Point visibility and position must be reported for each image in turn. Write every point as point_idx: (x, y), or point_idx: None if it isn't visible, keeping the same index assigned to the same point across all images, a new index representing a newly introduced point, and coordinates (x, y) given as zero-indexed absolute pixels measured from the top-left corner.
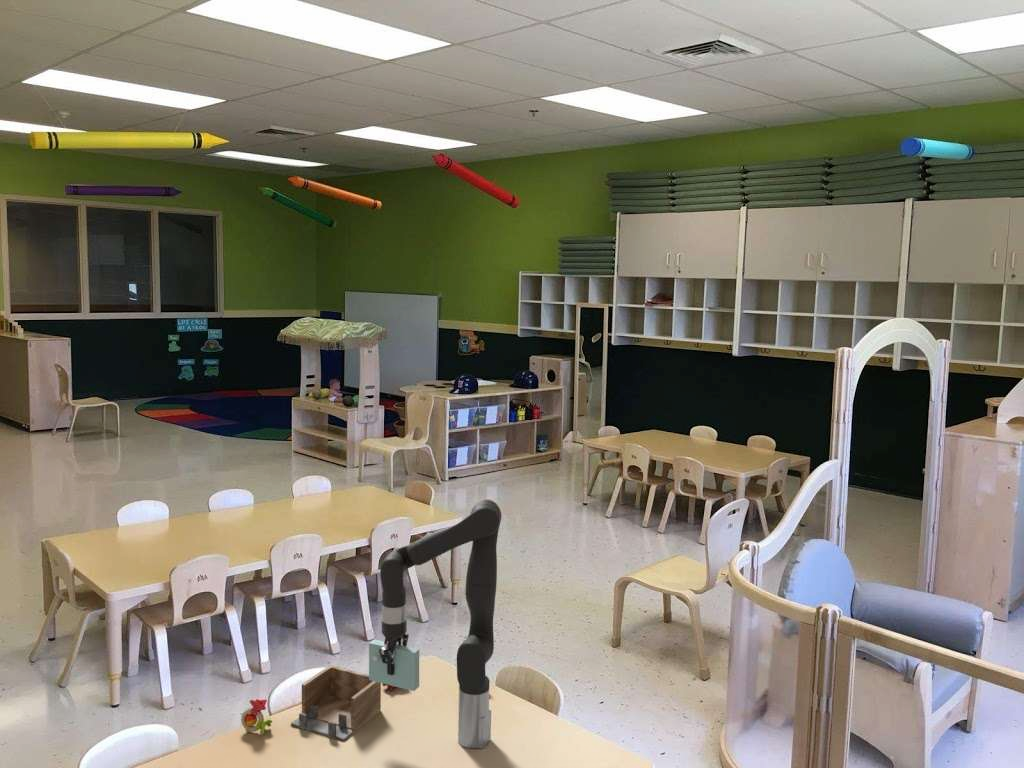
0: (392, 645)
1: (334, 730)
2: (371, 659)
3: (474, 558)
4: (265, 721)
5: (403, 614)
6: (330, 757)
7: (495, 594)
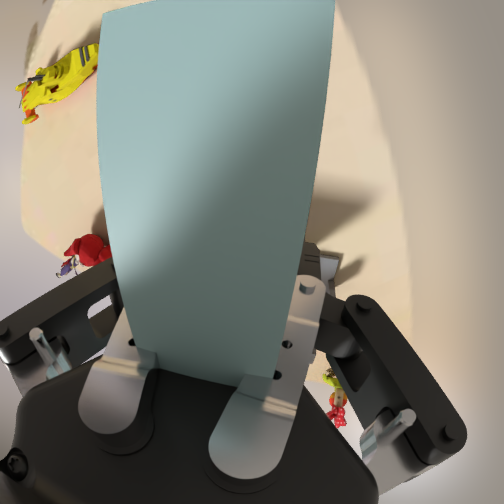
0: (316, 459)
1: (334, 289)
2: None
3: None
4: (338, 387)
5: None
6: (401, 257)
7: None
